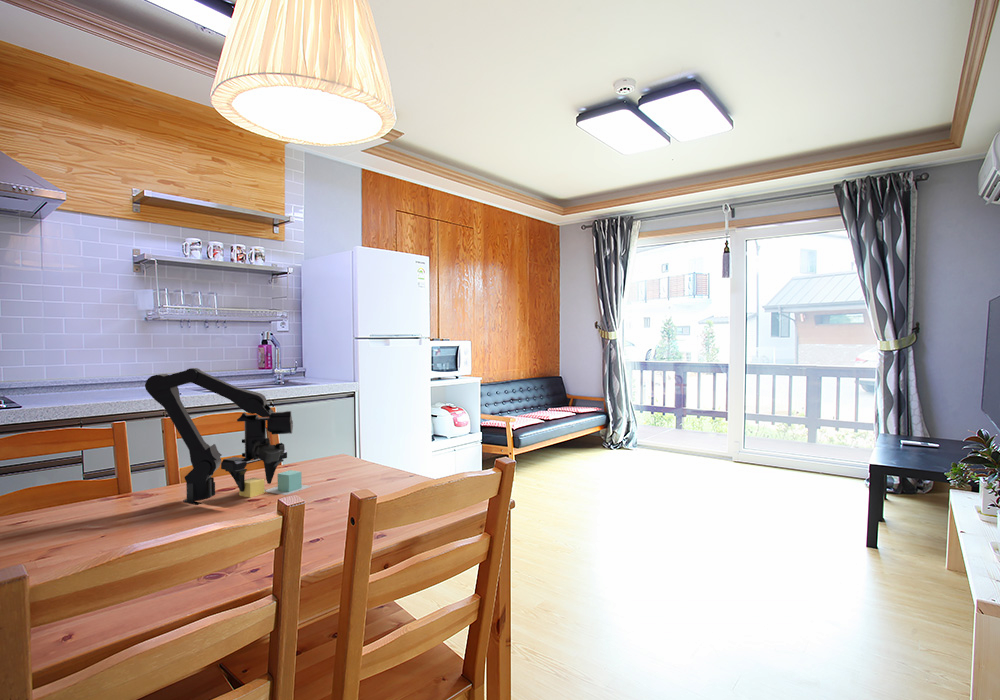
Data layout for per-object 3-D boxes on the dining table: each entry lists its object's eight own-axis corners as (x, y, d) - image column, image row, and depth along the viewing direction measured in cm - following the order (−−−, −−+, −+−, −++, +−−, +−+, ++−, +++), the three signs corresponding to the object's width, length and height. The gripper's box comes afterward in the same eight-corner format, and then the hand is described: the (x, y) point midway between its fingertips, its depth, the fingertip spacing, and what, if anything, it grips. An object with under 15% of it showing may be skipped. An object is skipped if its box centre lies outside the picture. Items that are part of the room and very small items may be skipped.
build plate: (285, 497, 149) (285, 494, 149) (262, 493, 154) (262, 491, 154) (311, 488, 158) (311, 486, 158) (288, 485, 163) (288, 482, 163)
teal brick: (289, 491, 152) (288, 475, 152) (277, 490, 154) (277, 473, 154) (301, 487, 157) (301, 471, 157) (290, 486, 159) (290, 470, 159)
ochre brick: (250, 500, 147) (250, 483, 147) (239, 498, 149) (239, 481, 149) (264, 496, 152) (264, 479, 151) (253, 494, 154) (253, 477, 154)
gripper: (246, 443, 140) (246, 499, 140) (299, 432, 156) (300, 482, 157) (219, 440, 145) (220, 494, 145) (274, 430, 161) (274, 478, 161)
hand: (256, 487), depth 152 cm, fingers open, 9 cm apart
